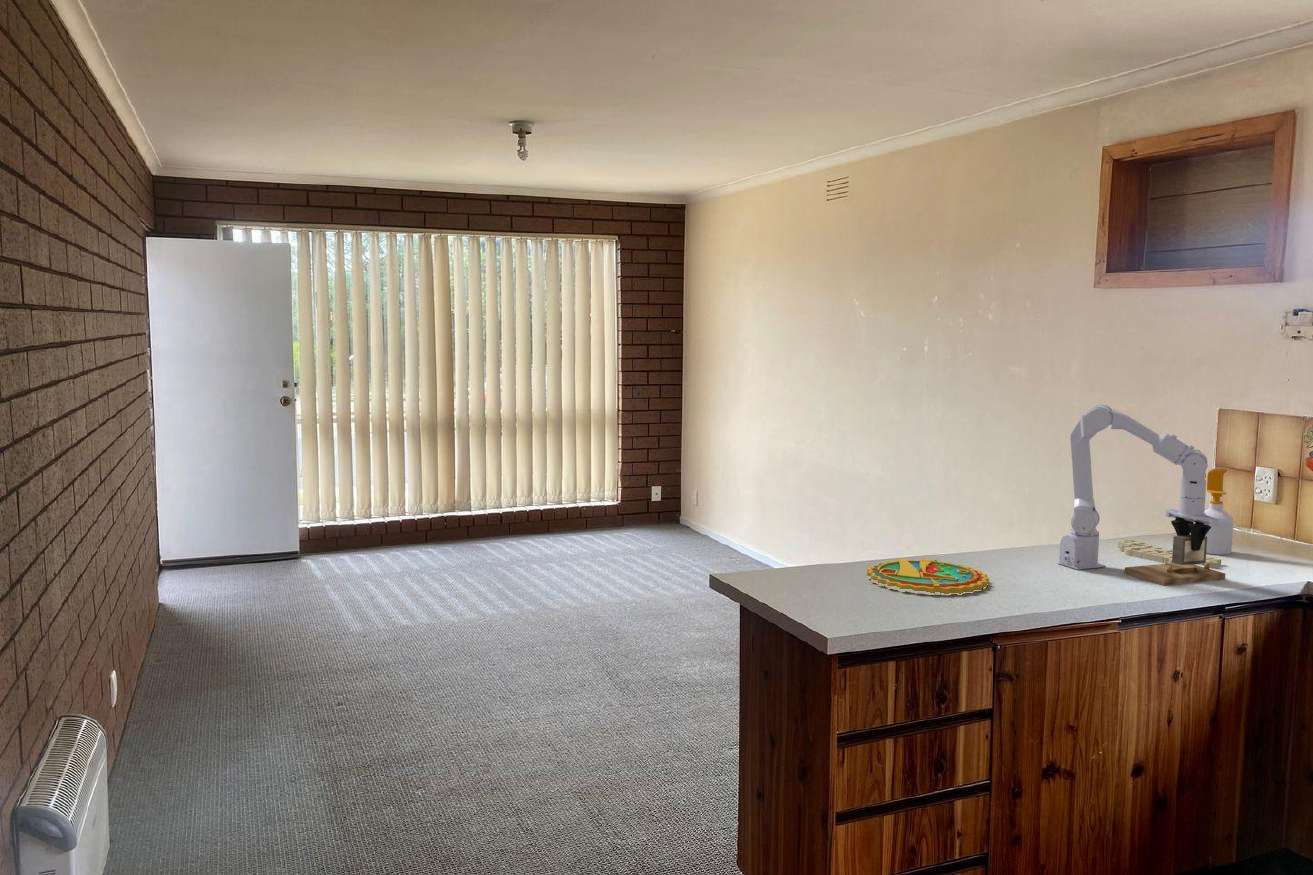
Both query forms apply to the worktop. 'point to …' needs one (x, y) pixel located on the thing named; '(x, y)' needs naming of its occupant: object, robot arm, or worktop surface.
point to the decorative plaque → (928, 576)
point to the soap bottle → (1218, 516)
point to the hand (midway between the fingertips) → (1189, 548)
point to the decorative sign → (1155, 552)
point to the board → (1175, 573)
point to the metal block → (1187, 551)
